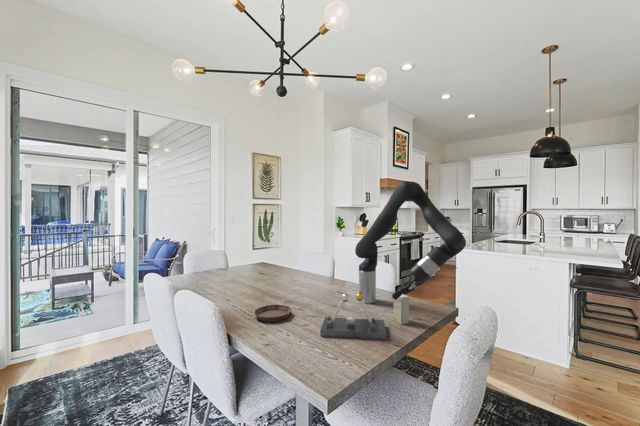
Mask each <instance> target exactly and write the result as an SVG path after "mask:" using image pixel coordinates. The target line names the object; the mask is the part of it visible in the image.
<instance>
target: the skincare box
mask: <svg viewBox="0 0 640 426" xmlns="http://www.w3.org/2000/svg"><path fill="white" fill-rule="evenodd" d="M392 313H393V316H392V317H393V318H392V319H393V320H394V321H395V322H397V323H399V324H400V325H404V324H409V323H410V295H407V294H405V295H404V294H402V295H401V296H400V297H399V298H398V299H397V300H395V299H394V298H393V312H392Z"/></svg>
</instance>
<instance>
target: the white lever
mask: <svg viewBox="0 0 640 426" xmlns="http://www.w3.org/2000/svg"><path fill="white" fill-rule="evenodd" d="M349 298H350V297H349V294H348V293H347V292H344V293H342V296H341V300H340V302H339V304H338V305H337V307H336V309H335V310H334V312H333V314H332V317H331V319H330V321H332V323H333V321H334V319H335V318H337V316H338V314H339V313H340V311H341V309H342V307H343V305H344V304H345V303H346V302H348V301H349Z"/></svg>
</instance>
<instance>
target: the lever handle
mask: <svg viewBox="0 0 640 426" xmlns="http://www.w3.org/2000/svg"><path fill="white" fill-rule="evenodd" d="M355 299H356V300H357V301H358V302H359V304H360V306H361V307H362V310H363V313H364V315H365V316H366V319H368V321H369V323H373V321H372V316H371V314H370V312H369V310H368V308H367V305H366V303H364V301H363V294H362V293H361V292H359V291H358V292H356V297H355Z"/></svg>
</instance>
